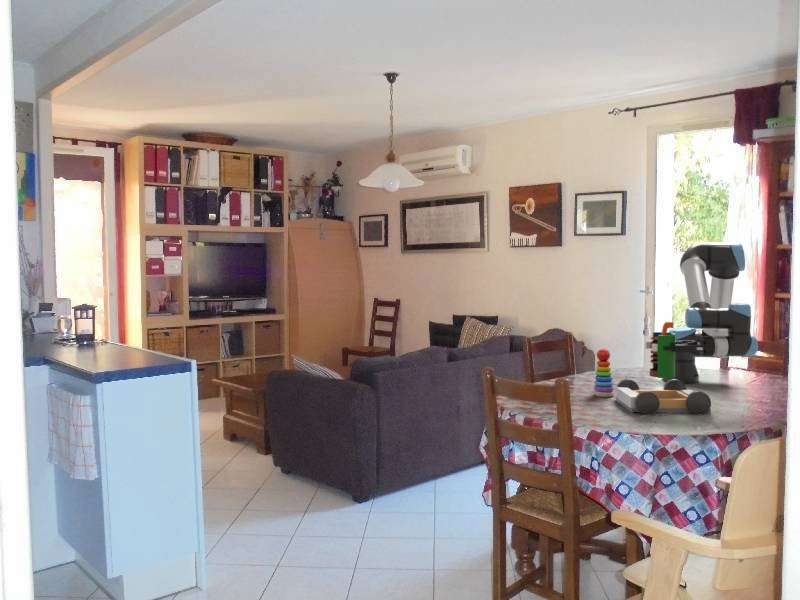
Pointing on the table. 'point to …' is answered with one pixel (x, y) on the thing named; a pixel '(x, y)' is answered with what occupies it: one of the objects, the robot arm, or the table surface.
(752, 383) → the table surface
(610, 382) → the stacking toy
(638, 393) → the chassis
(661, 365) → the motor
